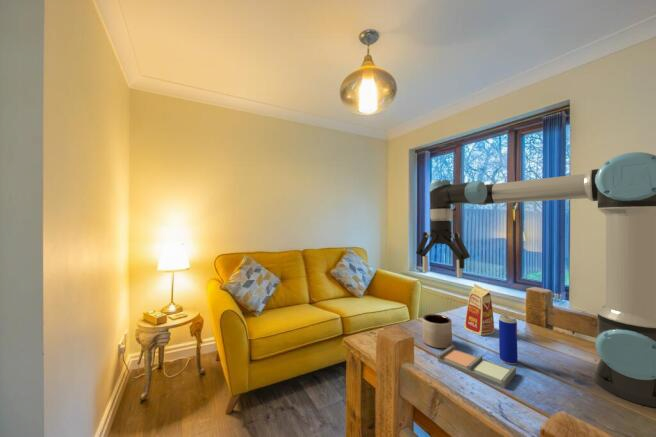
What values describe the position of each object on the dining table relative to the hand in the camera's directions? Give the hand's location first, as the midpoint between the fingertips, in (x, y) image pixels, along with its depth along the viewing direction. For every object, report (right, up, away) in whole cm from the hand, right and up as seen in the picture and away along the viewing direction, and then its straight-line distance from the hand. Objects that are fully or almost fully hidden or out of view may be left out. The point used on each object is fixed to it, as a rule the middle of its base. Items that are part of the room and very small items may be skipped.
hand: (441, 274), depth 104 cm
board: (+4, -27, -16) cm, 32 cm away
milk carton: (+23, -28, +13) cm, 38 cm away
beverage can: (+18, -27, -12) cm, 35 cm away
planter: (-1, -28, +2) cm, 28 cm away
